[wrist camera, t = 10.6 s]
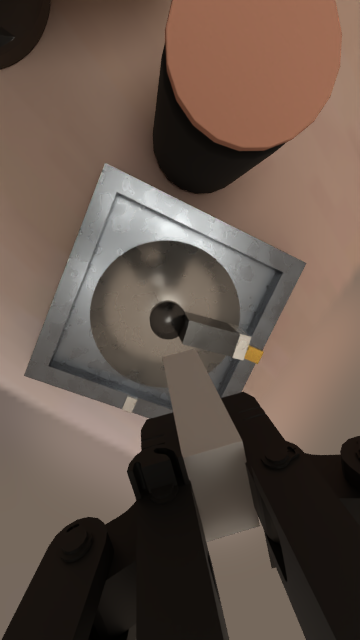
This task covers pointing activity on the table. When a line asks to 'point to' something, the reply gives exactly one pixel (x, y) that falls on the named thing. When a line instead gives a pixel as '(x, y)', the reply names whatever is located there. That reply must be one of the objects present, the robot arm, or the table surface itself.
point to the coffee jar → (240, 84)
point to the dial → (165, 310)
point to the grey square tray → (117, 238)
